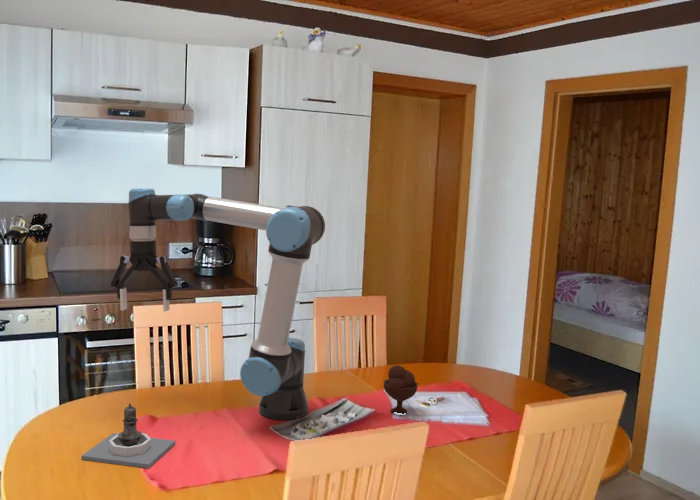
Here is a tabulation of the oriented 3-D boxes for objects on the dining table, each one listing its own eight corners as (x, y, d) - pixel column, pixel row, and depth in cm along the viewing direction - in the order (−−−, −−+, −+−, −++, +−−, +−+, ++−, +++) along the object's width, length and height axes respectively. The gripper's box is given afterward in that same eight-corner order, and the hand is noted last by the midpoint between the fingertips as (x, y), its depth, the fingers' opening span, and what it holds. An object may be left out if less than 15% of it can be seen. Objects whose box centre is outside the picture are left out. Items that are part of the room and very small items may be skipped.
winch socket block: (175, 444, 176) (175, 432, 176) (148, 468, 162) (148, 455, 161) (113, 436, 179) (113, 425, 179) (81, 459, 165) (81, 447, 164)
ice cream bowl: (393, 420, 201) (396, 373, 199) (375, 408, 211) (378, 362, 209) (423, 416, 206) (425, 369, 204) (404, 404, 215) (406, 359, 214)
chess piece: (134, 453, 167) (134, 408, 166) (113, 451, 168) (113, 405, 167) (146, 444, 173) (146, 400, 171) (125, 442, 174) (125, 398, 172)
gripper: (187, 239, 199) (189, 308, 201) (110, 239, 203) (112, 307, 204) (177, 241, 192) (179, 313, 194) (97, 240, 195) (99, 311, 197)
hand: (145, 310), depth 199 cm, fingers open, 13 cm apart
